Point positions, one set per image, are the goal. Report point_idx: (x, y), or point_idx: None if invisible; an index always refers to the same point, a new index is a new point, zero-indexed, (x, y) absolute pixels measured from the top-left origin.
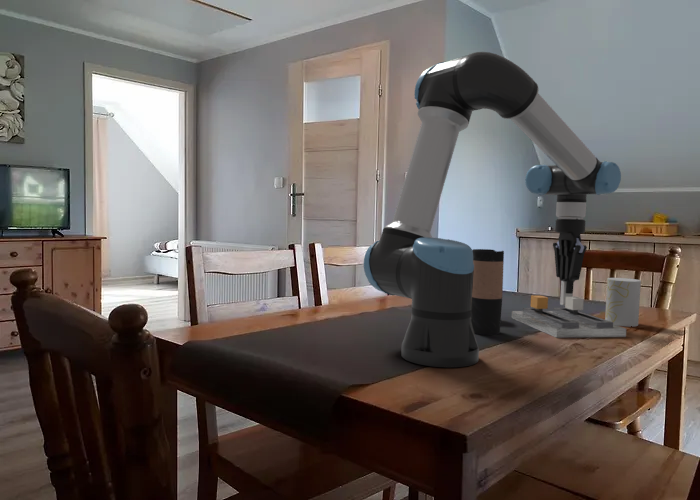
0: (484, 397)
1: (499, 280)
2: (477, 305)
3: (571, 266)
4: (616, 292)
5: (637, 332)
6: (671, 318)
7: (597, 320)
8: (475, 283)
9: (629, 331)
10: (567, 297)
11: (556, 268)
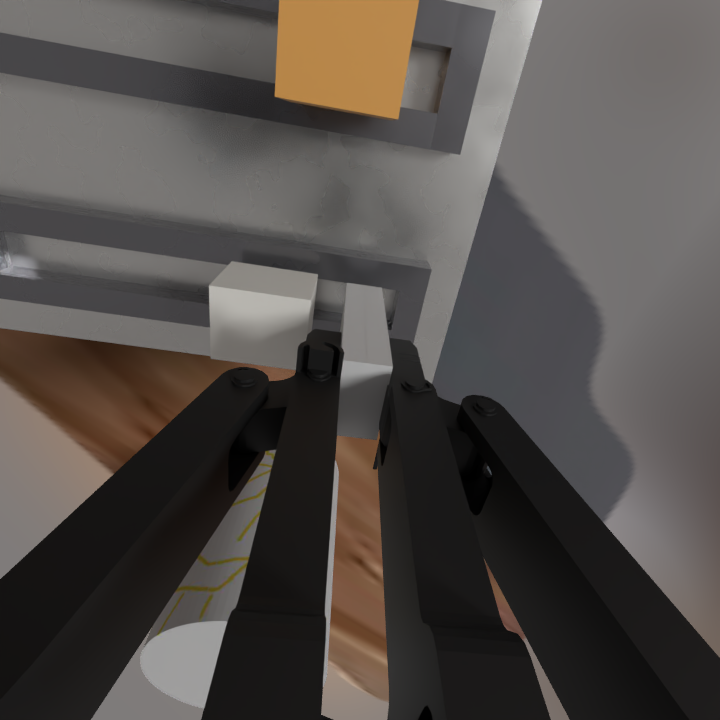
0: None
1: None
2: None
3: (173, 464)
4: (207, 552)
5: (107, 415)
6: (335, 638)
7: (78, 281)
8: None
9: (124, 400)
10: (286, 295)
11: (531, 457)
